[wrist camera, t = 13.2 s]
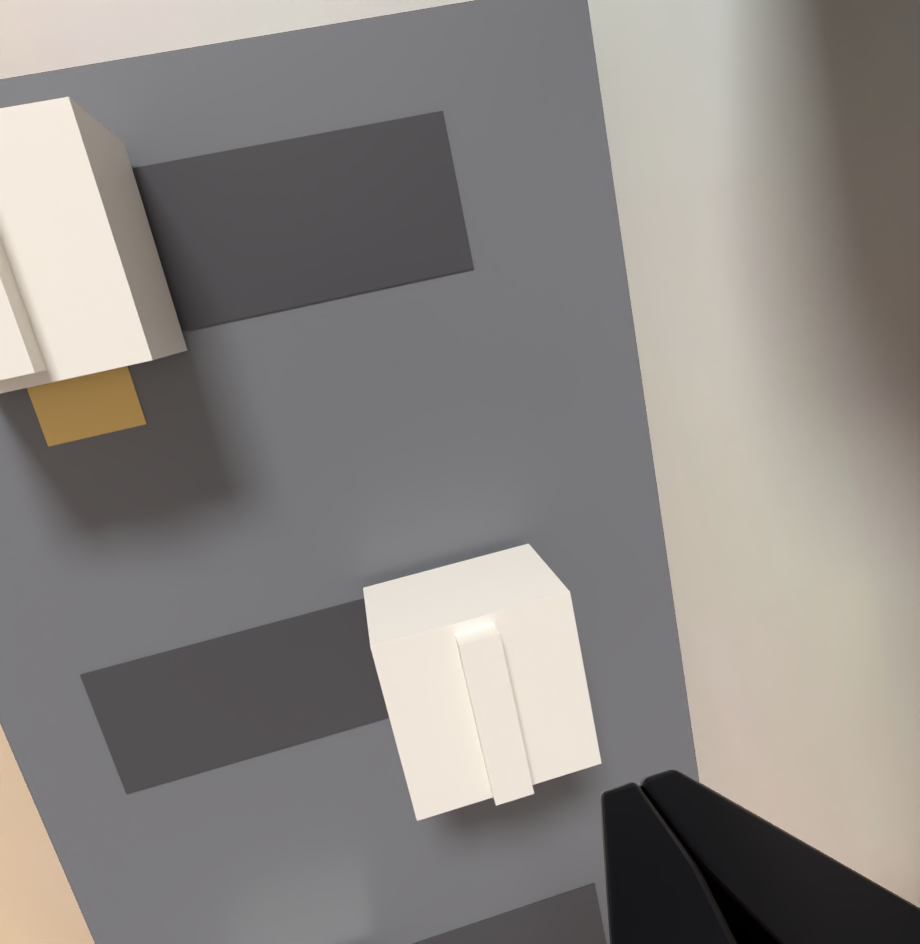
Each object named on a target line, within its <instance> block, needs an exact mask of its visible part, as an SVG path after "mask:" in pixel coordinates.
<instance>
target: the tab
mask: <svg viewBox="0 0 920 944" xmlns="http://www.w3.org/2000/svg"><path fill="white" fill-rule="evenodd" d="M184 351H187V347H186V344H185V340H184V337H183V334H182V331H181V327H180V324H179V321H178V318H177V314H176V311H175V308H174V304H173V301H172V298H171V295H170V291H169V288H168V285H167V282H166V278H165V275H164V272H163V268H162V265H161V262H160V259H159V255H158V252H157V249H156V246H155V242H154V239H153V236H152V232H151V229H150V226H149V223H148V219H147V216H146V213H145V210H144V206H143V203H142V200H141V196H140V193H139V190H138V187H137V183H136V180H135V177H134V174H133V170H132V167H131V164H130V160H129V157H128V154H127V151H126V147H125V144H124V142H123V141H122V140H121V139H119V138H118V137H117V136H116V135H115V134H113V133H112V132H111V131H110V130H108V129H107V128H106V127H105V126H104V125H102V124H101V123H100V122H99V121H97V120H96V119H95V118H94V117H93V116H91V115H90V114H89V113H88V112H87V111H85V110H84V109H83V108H82V107H80V106H79V105H78V104H77V103H76V102H74V101H73V100H72V99H71V98H70V97H64V98H58V99H52V100H46V101H40V102H34V103H29V104H23V105H17V106H11V107H5V108H0V394H1V393H5V392H10V391H14V390H19V389H23V388H28V387H33V386H37V385H42V384H46V383H51V382H55V381H60V380H65V379H69V378H74V377H78V376H83V375H87V374H92V373H97V372H101V371H106V370H110V369H115V368H119V367H124V366H129V365H133V364H138V363H142V362H147V361H151V360H155V359H159V358H162V357H166V356H169V355H173V354H176V353H180V352H184Z"/></svg>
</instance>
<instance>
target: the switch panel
mask: <svg viewBox="0 0 920 944" xmlns="http://www.w3.org/2000/svg"><path fill="white" fill-rule="evenodd" d="M64 97H70V98H71V99H72V100H73V101H74V102H76V103H77V104H78V105H79V106H80V107H82V108H83V109H84V110H85V111H87V112H88V113H89V114H90V115H91V116H93V117H94V118H95V119H96V120H97V121H99V122H100V123H101V124H102V125H104V126H105V127H106V128H107V129H108V130H110V131H111V132H112V133H113V134H115V135H116V136H117V137H118V138H119V139H121V140H122V141H123V142H124V144H125V147H126V151H127V154H128V157H129V160H130V164H131V167H132V170H133V174H134V177H135V180H136V183H137V187H138V190H139V193H140V196H141V200H142V203H143V206H144V210H145V213H146V216H147V219H148V223H149V226H150V229H151V232H152V236H153V239H154V242H155V246H156V249H157V252H158V255H159V259H160V262H161V265H162V268H163V272H164V275H165V278H166V282H167V285H168V288H169V291H170V295H171V298H172V301H173V304H174V308H175V311H176V314H177V318H178V321H179V324H180V327H181V331H182V334H183V337H184V340H185V344H186V347H187V351H184V352H180V353H176V354H173V355H169V356H166V357H162V358H159V359H155V360H151V361H147V362H142V363H138V364H133V365H129V366H124V367H119V368H115V369H110V370H106V371H101V372H97V373H92V374H87V375H83V376H78V377H74V378H69V379H65V380H60V381H55V382H51V383H46V384H42V385H37V386H33V387H28V388H23V389H19V390H14V391H10V392H5V393H1V394H0V724H1V726H2V729H3V731H4V733H5V736H6V738H7V740H8V742H9V745H10V747H11V749H12V752H13V754H14V756H15V759H16V761H17V763H18V766H19V768H20V770H21V773H22V775H23V777H24V780H25V782H26V784H27V787H28V789H29V791H30V794H31V796H32V798H33V800H34V803H35V805H36V807H37V810H38V812H39V814H40V817H41V819H42V821H43V824H44V826H45V828H46V831H47V833H48V835H49V838H50V840H51V842H52V845H53V847H54V849H55V852H56V854H57V856H58V859H59V861H60V863H61V865H62V868H63V870H64V872H65V875H66V877H67V879H68V882H69V884H70V886H71V889H72V891H73V893H74V896H75V898H76V900H77V903H78V905H79V907H80V910H81V912H82V914H83V917H84V919H85V921H86V923H87V926H88V928H89V930H90V933H91V935H92V937H93V940H94V942H95V944H610V938H609V924H608V910H607V895H606V881H605V867H604V853H603V838H602V824H601V810H600V795H601V793H602V792H603V791H605V790H608V789H611V788H614V787H617V786H620V785H623V784H626V783H630V782H633V783H636V784H638V785H639V782H640V781H641V780H642V779H643V778H645V777H648V776H651V775H655V774H658V773H661V772H664V771H667V770H677V771H680V772H682V773H684V774H685V775H687V776H689V777H691V778H692V779H694V780H696V781H698V782H699V777H698V770H697V763H696V756H695V749H694V742H693V735H692V728H691V721H690V714H689V707H688V700H687V693H686V686H685V679H684V672H683V665H682V658H681V651H680V644H679V637H678V630H677V623H676V616H675V609H674V602H673V595H672V588H671V581H670V574H669V567H668V560H667V553H666V546H665V539H664V532H663V525H662V518H661V511H660V504H659V497H658V490H657V484H656V477H655V470H654V463H653V456H652V449H651V442H650V435H649V428H648V421H647V414H646V407H645V400H644V393H643V386H642V379H641V372H640V365H639V358H638V351H637V344H636V337H635V330H634V323H633V316H632V309H631V302H630V295H629V288H628V281H627V274H626V267H625V260H624V253H623V246H622V239H621V232H620V225H619V218H618V211H617V204H616V197H615V190H614V183H613V176H612V169H611V162H610V155H609V148H608V141H607V134H606V128H605V121H604V114H603V107H602V100H601V93H600V86H599V79H598V72H597V65H596V58H595V51H594V44H593V37H592V30H591V23H590V16H589V9H588V2H587V0H475V1H469V2H463V3H457V4H451V5H445V6H439V7H433V8H427V9H421V10H415V11H409V12H403V13H397V14H391V15H385V16H379V17H373V18H367V19H361V20H355V21H349V22H343V23H337V24H331V25H325V26H319V27H313V28H307V29H301V30H295V31H289V32H283V33H277V34H271V35H265V36H259V37H253V38H247V39H241V40H235V41H229V42H222V43H216V44H210V45H204V46H198V47H192V48H186V49H180V50H174V51H168V52H162V53H156V54H150V55H144V56H138V57H132V58H126V59H120V60H114V61H108V62H102V63H96V64H90V65H84V66H78V67H72V68H66V69H60V70H54V71H48V72H42V73H36V74H30V75H24V76H18V77H12V78H6V79H0V108H5V107H11V106H17V105H23V104H29V103H34V102H40V101H46V100H52V99H58V98H64ZM525 544H529V545H530V546H531V547H532V548H533V549H534V550H535V552H536V553H537V554H538V555H539V556H540V557H541V559H542V560H543V561H544V562H545V563H546V564H547V565H548V567H549V568H550V569H551V570H552V571H553V572H554V574H555V575H556V576H557V577H558V578H559V579H560V581H561V582H562V583H563V584H564V585H565V586H566V588H567V589H568V590H569V591H570V594H571V600H572V605H573V611H574V616H575V621H576V627H577V632H578V638H579V643H580V649H581V654H582V660H583V665H584V670H585V676H586V681H587V687H588V692H589V698H590V703H591V709H592V714H593V720H594V725H595V730H596V736H597V741H598V747H599V752H600V758H601V763H602V764H598V765H595V766H592V767H589V768H586V769H582V770H579V771H576V772H573V773H570V774H566V775H563V776H560V777H557V778H553V779H550V780H547V781H544V782H541V783H537V784H534V785H532V786H533V790H534V794H532V795H529V796H526V797H522V798H519V799H516V800H513V801H510V802H506V803H503V804H500V805H497V806H496V804H495V801H494V799H493V798H489V799H486V800H483V801H480V802H477V803H473V804H470V805H467V806H464V807H460V808H457V809H454V810H451V811H448V812H444V813H441V814H438V815H435V816H432V817H428V818H425V819H422V820H419V821H417V819H416V815H415V812H414V808H413V804H412V801H411V797H410V793H409V789H408V786H407V782H406V778H405V774H404V771H403V767H402V763H401V760H400V756H399V752H398V748H397V745H396V741H395V737H394V733H393V730H392V726H391V722H390V719H389V715H388V711H387V707H386V704H385V700H384V696H383V692H382V689H381V685H380V681H379V678H378V674H377V670H376V666H375V663H374V659H373V655H372V651H371V648H370V640H369V632H368V624H367V616H366V608H365V600H364V592H363V588H364V587H368V586H372V585H375V584H379V583H383V582H386V581H390V580H394V579H398V578H401V577H405V576H409V575H413V574H416V573H420V572H424V571H428V570H431V569H435V568H439V567H443V566H446V565H450V564H454V563H458V562H461V561H465V560H469V559H473V558H476V557H480V556H484V555H487V554H491V553H495V552H499V551H502V550H506V549H510V548H514V547H517V546H521V545H525Z"/></svg>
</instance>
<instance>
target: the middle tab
mask: <svg viewBox="0 0 920 944" xmlns="http://www.w3.org/2000/svg"><path fill="white" fill-rule="evenodd" d="M363 592H364V600H365V608H366V616H367V624H368V632H369V640H370V648H371V651H372V655H373V659H374V663H375V666H376V670H377V674H378V678H379V681H380V685H381V689H382V692H383V696H384V700H385V704H386V707H387V711H388V715H389V719H390V722H391V726H392V730H393V733H394V737H395V741H396V745H397V748H398V752H399V756H400V760H401V763H402V767H403V771H404V774H405V778H406V782H407V786H408V789H409V793H410V797H411V801H412V804H413V808H414V812H415V815H416V819H417V821H419V820H422V819H425V818H428V817H432V816H435V815H438V814H441V813H444V812H448V811H451V810H454V809H457V808H460V807H464V806H467V805H470V804H473V803H477V802H480V801H483V800H486V799H489V798H493V799H494V801H495V804H496V806H497V805H500V804H503V803H506V802H510V801H513V800H516V799H519V798H522V797H526V796H529V795H532V794H534V790H533V786H532V785H534V784H537V783H541V782H544V781H547V780H550V779H553V778H557V777H560V776H563V775H566V774H570V773H573V772H576V771H579V770H582V769H586V768H589V767H592V766H595V765H598V764H602V763H601V758H600V752H599V747H598V741H597V736H596V730H595V725H594V720H593V714H592V709H591V703H590V698H589V692H588V687H587V681H586V676H585V670H584V665H583V660H582V654H581V649H580V643H579V638H578V632H577V627H576V621H575V616H574V611H573V605H572V600H571V594H570V591H569V590H568V589H567V588H566V586H565V585H564V584H563V583H562V582H561V581H560V579H559V578H558V577H557V576H556V575H555V574H554V572H553V571H552V570H551V569H550V568H549V567H548V565H547V564H546V563H545V562H544V561H543V560H542V559H541V557H540V556H539V555H538V554H537V553H536V552H535V550H534V549H533V548H532V547H531V546H530V545H529V544H525V545H521V546H517V547H514V548H510V549H506V550H502V551H499V552H495V553H491V554H487V555H484V556H480V557H476V558H473V559H469V560H465V561H461V562H458V563H454V564H450V565H446V566H443V567H439V568H435V569H431V570H428V571H424V572H420V573H416V574H413V575H409V576H405V577H401V578H398V579H394V580H390V581H386V582H383V583H379V584H375V585H372V586H368V587H364V588H363Z"/></svg>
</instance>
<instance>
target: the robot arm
mask: <svg viewBox="0 0 920 944" xmlns="http://www.w3.org/2000/svg"><path fill="white" fill-rule="evenodd" d="M600 810H601V824H602V838H603V853H604V867H605V881H606V895H607V910H608V924H609V938H610V944H920V908H919V907H917V906H915V905H913V904H912V903H910V902H908V901H906V900H905V899H903V898H901V897H899V896H898V895H896V894H894V893H892V892H891V891H889V890H887V889H885V888H884V887H882V886H880V885H878V884H877V883H875V882H873V881H871V880H869V879H868V878H866V877H864V876H862V875H861V874H859V873H857V872H855V871H854V870H852V869H850V868H848V867H847V866H845V865H843V864H841V863H840V862H838V861H836V860H834V859H833V858H831V857H829V856H827V855H826V854H824V853H822V852H820V851H819V850H817V849H815V848H813V847H812V846H810V845H808V844H806V843H805V842H803V841H801V840H799V839H798V838H796V837H794V836H792V835H791V834H789V833H787V832H785V831H784V830H782V829H780V828H778V827H777V826H775V825H773V824H771V823H770V822H768V821H766V820H764V819H763V818H761V817H759V816H757V815H756V814H754V813H752V812H750V811H749V810H747V809H745V808H743V807H742V806H740V805H738V804H736V803H735V802H733V801H731V800H729V799H728V798H726V797H724V796H722V795H721V794H719V793H717V792H715V791H714V790H712V789H710V788H708V787H707V786H705V785H703V784H701V783H699V782H698V781H696V780H694V779H692V778H691V777H689V776H687V775H685V774H684V773H682V772H680V771H677V770H667V771H664V772H661V773H658V774H655V775H651V776H648V777H645V778H643V779H642V780H641V781H640V782H639V785H638V784H636V783H633V782H630V783H626V784H623V785H620V786H617V787H614V788H611V789H608V790H605V791H603V792H602V793H601V795H600Z"/></svg>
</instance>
